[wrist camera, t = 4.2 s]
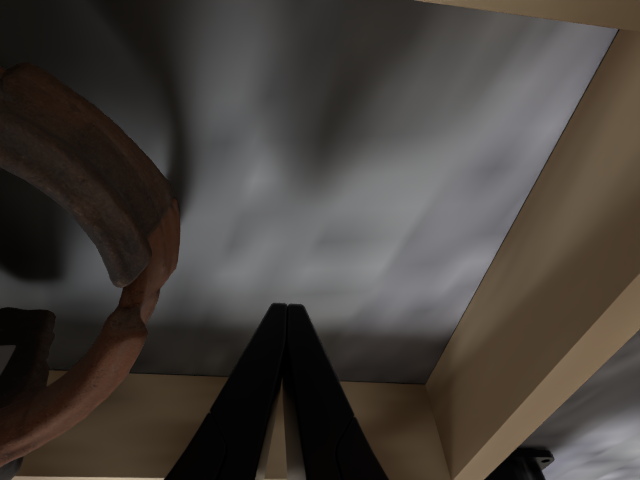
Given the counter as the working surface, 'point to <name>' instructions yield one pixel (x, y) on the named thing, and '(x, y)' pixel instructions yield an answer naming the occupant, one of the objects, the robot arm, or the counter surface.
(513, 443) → the wooden frame
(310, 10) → the counter surface
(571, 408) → the counter surface
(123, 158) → the pottery mug
